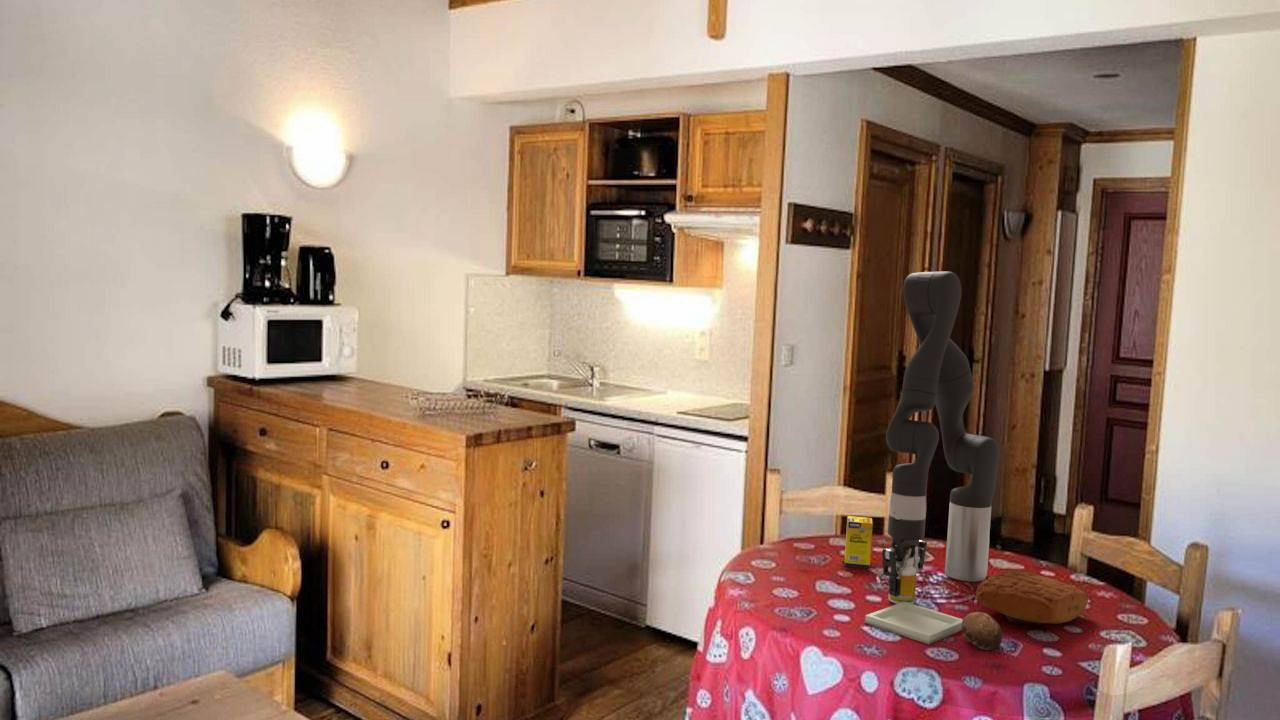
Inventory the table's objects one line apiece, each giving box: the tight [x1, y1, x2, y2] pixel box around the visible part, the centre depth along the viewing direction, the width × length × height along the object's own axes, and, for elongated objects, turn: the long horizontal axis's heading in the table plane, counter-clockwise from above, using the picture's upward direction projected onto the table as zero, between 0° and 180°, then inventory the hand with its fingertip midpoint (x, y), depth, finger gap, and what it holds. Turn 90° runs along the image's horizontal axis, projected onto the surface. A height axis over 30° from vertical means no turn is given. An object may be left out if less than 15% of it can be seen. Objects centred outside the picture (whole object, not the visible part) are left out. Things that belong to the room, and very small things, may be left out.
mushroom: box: [962, 611, 1004, 651], centre depth 185 cm, size 8×8×6 cm
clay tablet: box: [975, 569, 1089, 624], centre depth 201 cm, size 22×17×8 cm
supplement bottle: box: [888, 557, 917, 605], centre depth 208 cm, size 5×5×10 cm
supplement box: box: [844, 515, 874, 569], centre depth 235 cm, size 6×6×11 cm
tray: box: [864, 602, 964, 645], centre depth 194 cm, size 14×14×2 cm
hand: (902, 592), depth 208 cm, fingers closed on supplement bottle, 5 cm apart
